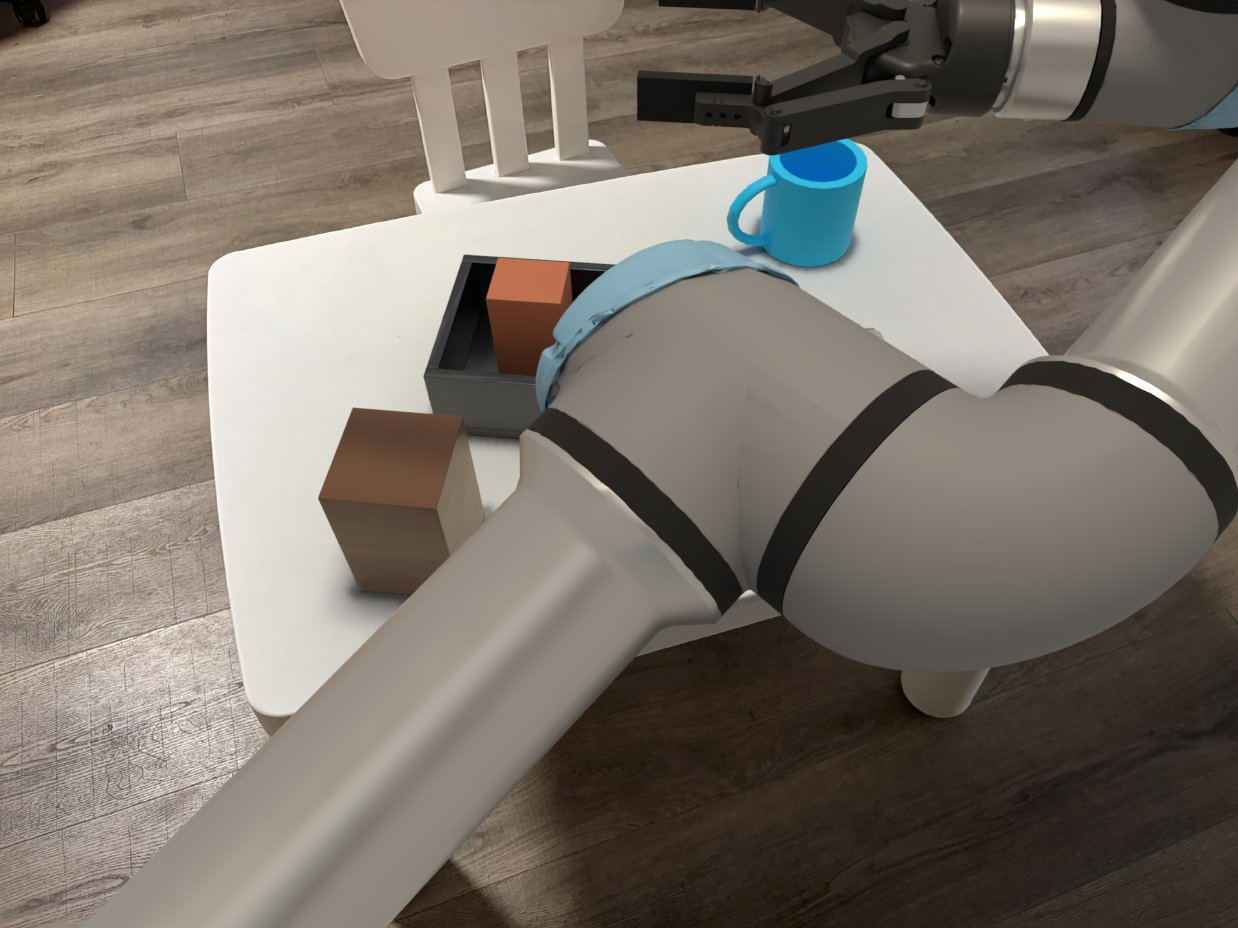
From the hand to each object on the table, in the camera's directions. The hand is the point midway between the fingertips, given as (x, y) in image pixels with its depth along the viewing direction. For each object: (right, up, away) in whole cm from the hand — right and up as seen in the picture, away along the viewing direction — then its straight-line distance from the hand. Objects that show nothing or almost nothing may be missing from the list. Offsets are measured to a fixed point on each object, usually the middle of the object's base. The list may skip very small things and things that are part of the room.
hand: (648, 35), depth 59 cm
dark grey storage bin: (-9, -19, +26) cm, 33 cm away
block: (-9, -18, +25) cm, 32 cm away
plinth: (-17, -33, +15) cm, 40 cm away
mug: (+15, -4, +37) cm, 40 cm away
